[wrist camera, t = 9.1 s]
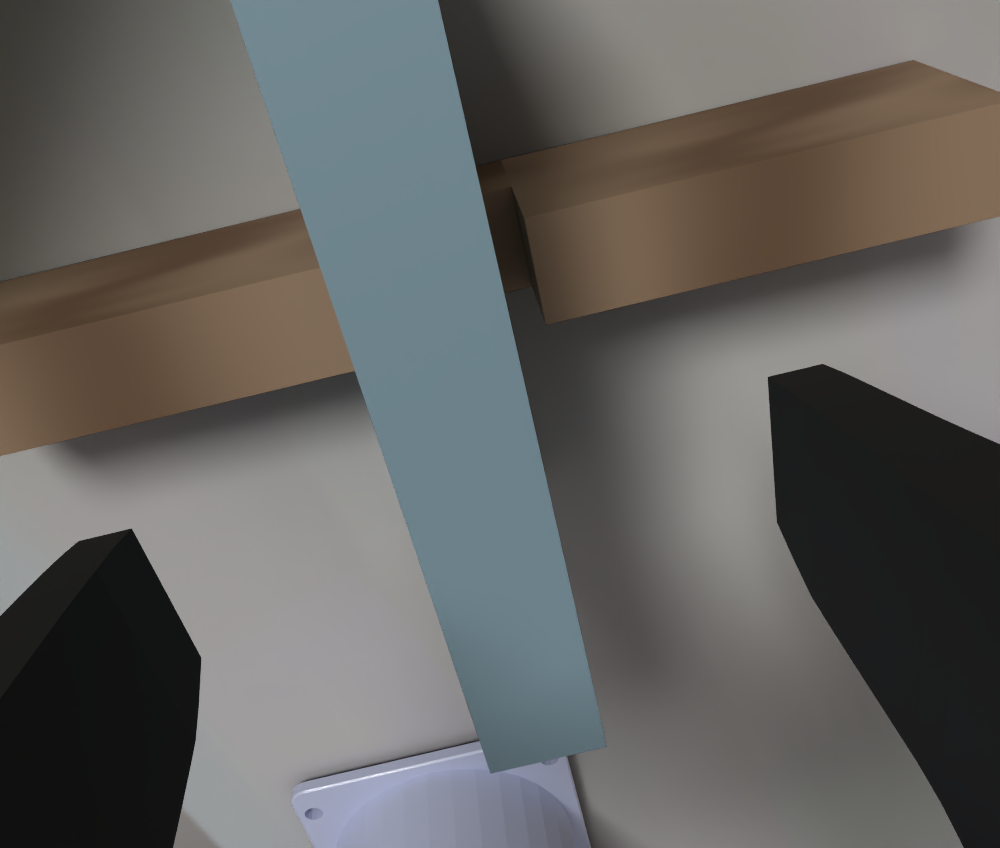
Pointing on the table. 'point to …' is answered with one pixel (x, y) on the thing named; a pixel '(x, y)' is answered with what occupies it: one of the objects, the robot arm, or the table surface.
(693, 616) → the table surface
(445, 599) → the teal slotted plate
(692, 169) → the walnut slotted plate
